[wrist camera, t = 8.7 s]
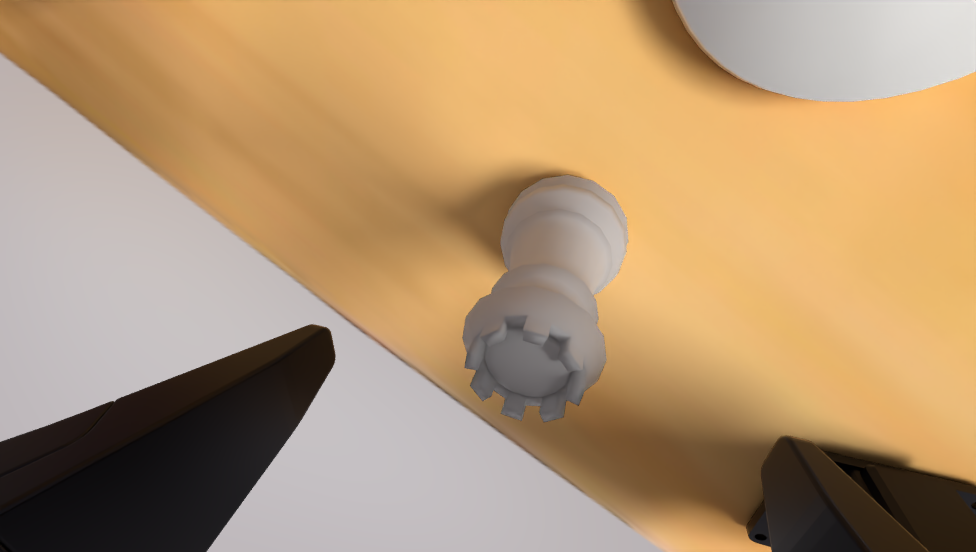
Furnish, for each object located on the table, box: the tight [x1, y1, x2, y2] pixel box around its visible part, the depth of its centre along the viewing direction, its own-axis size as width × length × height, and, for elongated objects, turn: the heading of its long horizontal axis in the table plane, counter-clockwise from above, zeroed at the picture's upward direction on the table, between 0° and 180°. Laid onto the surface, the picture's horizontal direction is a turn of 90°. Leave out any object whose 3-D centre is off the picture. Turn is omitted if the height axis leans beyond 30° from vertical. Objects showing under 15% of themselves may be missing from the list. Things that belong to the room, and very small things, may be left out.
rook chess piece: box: [463, 175, 628, 422], centre depth 11 cm, size 4×4×8 cm
